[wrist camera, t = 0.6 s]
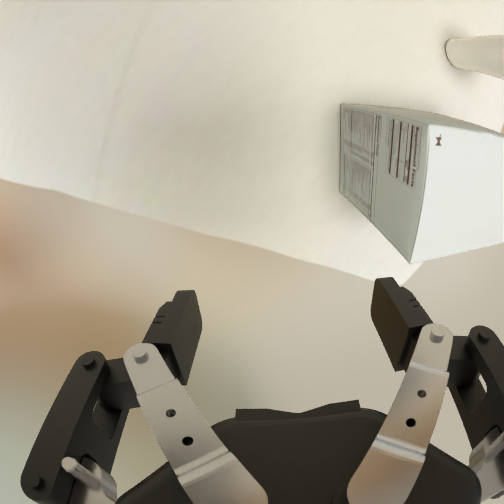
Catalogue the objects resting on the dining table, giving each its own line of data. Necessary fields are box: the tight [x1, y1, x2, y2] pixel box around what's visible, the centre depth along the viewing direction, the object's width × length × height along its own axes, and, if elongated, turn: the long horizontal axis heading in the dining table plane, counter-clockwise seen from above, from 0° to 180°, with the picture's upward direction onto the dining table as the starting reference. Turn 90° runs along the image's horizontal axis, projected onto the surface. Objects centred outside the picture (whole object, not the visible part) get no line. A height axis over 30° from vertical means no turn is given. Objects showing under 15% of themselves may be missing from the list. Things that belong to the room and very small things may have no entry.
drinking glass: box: [446, 35, 504, 80], centre depth 20 cm, size 7×7×15 cm
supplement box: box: [340, 104, 504, 264], centre depth 28 cm, size 17×13×18 cm
